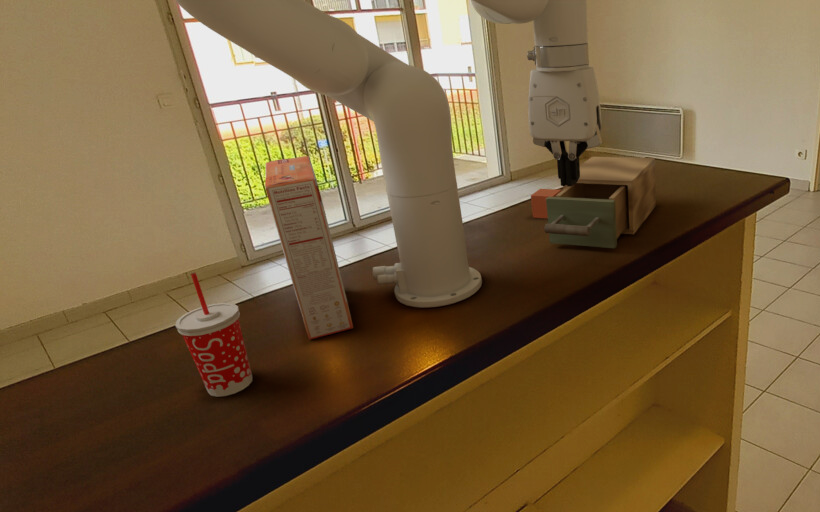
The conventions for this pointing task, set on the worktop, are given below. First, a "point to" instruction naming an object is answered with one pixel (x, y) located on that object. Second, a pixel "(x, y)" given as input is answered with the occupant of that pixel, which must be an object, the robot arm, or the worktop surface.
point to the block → (542, 202)
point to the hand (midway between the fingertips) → (569, 183)
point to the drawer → (588, 215)
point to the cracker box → (307, 245)
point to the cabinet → (625, 183)
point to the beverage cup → (216, 345)
